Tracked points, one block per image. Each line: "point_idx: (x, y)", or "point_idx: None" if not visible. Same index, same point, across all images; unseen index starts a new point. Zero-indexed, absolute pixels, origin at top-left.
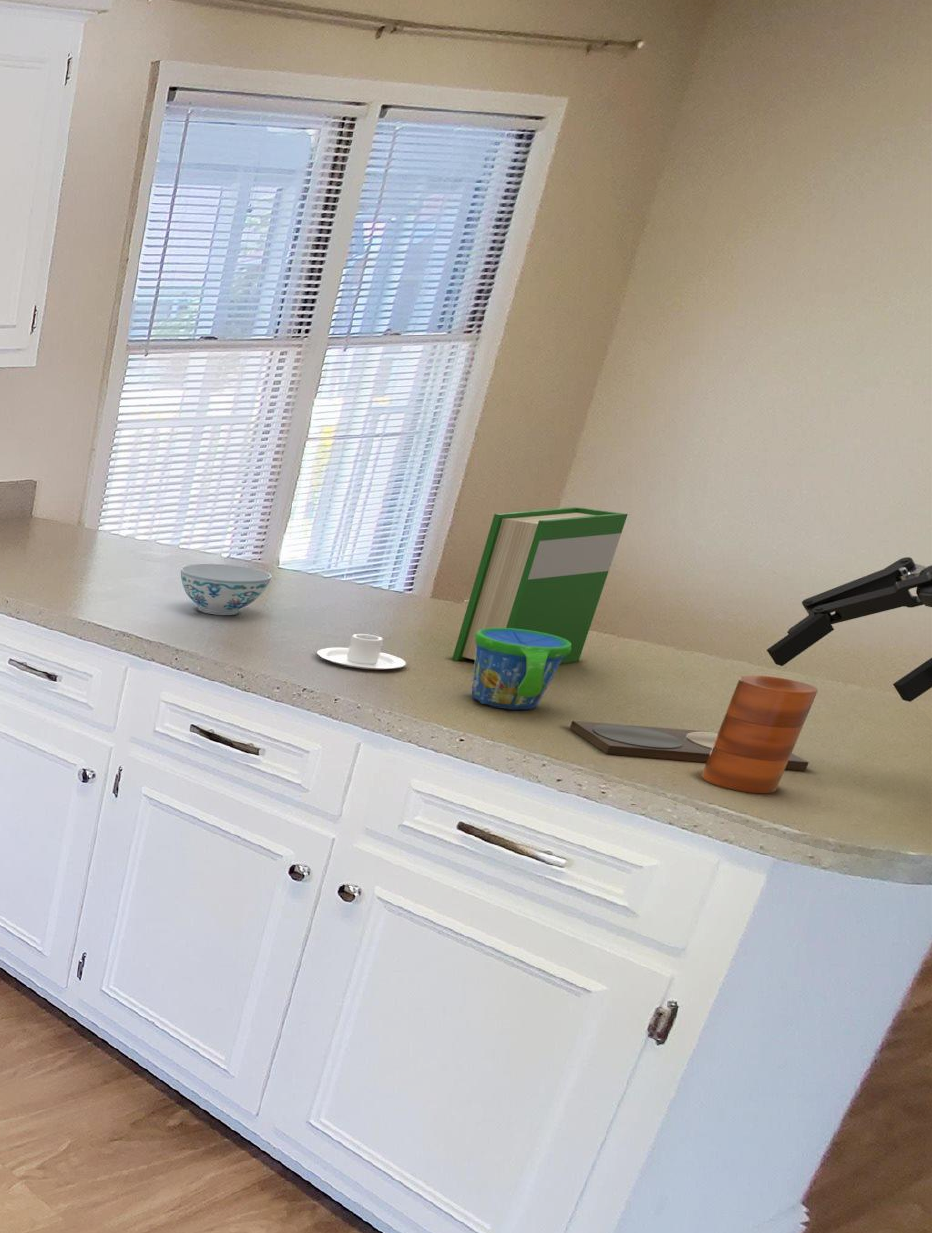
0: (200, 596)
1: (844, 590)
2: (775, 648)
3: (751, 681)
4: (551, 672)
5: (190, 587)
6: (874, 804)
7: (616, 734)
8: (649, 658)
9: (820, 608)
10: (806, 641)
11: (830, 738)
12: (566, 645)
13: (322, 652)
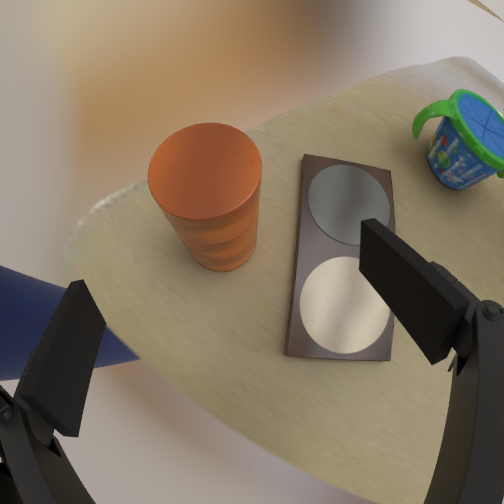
0: None
1: None
2: (369, 224)
3: (214, 132)
4: (456, 155)
5: None
6: (171, 348)
7: (349, 182)
8: None
9: (489, 311)
10: (396, 295)
11: (409, 451)
12: (480, 143)
13: (500, 114)
